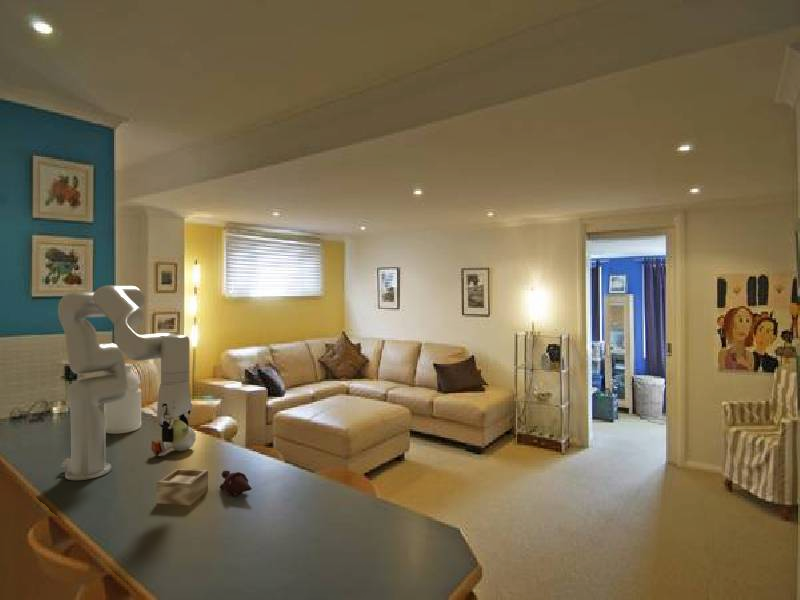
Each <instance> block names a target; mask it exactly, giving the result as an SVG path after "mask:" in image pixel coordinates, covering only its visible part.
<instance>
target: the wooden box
mask: <svg viewBox="0 0 800 600" xmlns="http://www.w3.org/2000/svg"><path fill="white" fill-rule="evenodd" d="M156 484H157V485H156V503H157V504H161V505H162V504H163V505H164V504H165V505H178V506H179V505H180V506H181V505H182V506H191V505H192V504H194V503H195V502H196V501H197V500H198V499H200V498H201V497H202V496H203V495H204V494H205V493H206V492H207V491H209V470H208V469H195V468H176V469H174V470H172V471H171V472H170V473H168V474H167V475H165V476H164V477H162V478H160V479H159V480H157V482H156Z"/></svg>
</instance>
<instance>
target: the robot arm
mask: <svg viewBox="0 0 800 600" xmlns="http://www.w3.org/2000/svg"><path fill="white" fill-rule="evenodd" d="M145 300H146V299H145V294H144V293H143V291H142V290H141V289H140V288H138V287H137V286H134V285H115V284H113V285H103V286H100V287H98V288H97V289H96V290H95V291H77V292H70V293H67V294H65V295H63V296H62V297H61V298H60V300H59V301H58V306H57V315H58V316H57V317H58V319H59V321H60V325H61V326H62V327H61V328H62V329H63V331H64V336H65V342H66V343H65V345H66V350H67V358H68V359H67V360H68V365H69V368H70V371H71V372H72V373H73V374H76V375H88V374H94V373H101V372H103V375H95V376H91V377H90V376H89V377H86V378H85V377H84V378H81V379H77V380H75V381H74V382H72V383H71V384H69V386H68V388H67V390H66V398H67V402H68V407H69V412H70V458H65V459H64V460H63V462H62V463H61V468H67V471H66V472H65V473H64V477H65V479H66V480H68V481H69V480H70V481H84V480H85V481H86V480H92V479H95V478H99V477H101V476H104V475H106V474H108V473H110V471H112V465H111V464H110V463H108V462H107V459H106V458H107V457H106V456H107V455H106V451H107V447H106V446H107V444H106V442H107V441H106V440H107V439H106V438H107V437H106V436H107V433H106V419H105V415H104V411H102V410H101V409H100V408H99V406H101V405H104V404H105V403H110V402H114V401H118V400H121V399H123V398H124V397H125V396H126V394H127V390H128V383H127V375H126V367H125V364H126V361H125V356H126V357H128V358H129V359H131V360H133V361H135V362H137V361H138V362H141V361H148V360H155V359H156V360H157V359H160V384H159V388H158V395H157V403H156V404H157V407H156V419H155V420H156V421H157V423H158V425H159V427H160V429H161V439H162V442H173V428H172V425H173V421H174V420H175V419H176V418H178V420H181V421H183V422H184V423H186V425H187V427H188V426H189V420H190V414H191V410H192V408H193V404H192V395H191V394H192V393H191V385H190V370H191V369H190V360H191V359H190V338H189V337H188V335H184V334H174V333H169V332H157V333H155V332H154V333H147V334H146V333H144V334H137V333H136V332H135V331H134V330H135V329H136V328H138V326H140V325H141V323H142V322H143V320H144V317H145V314H144V311H143V309H142V308H143V307H144V305H145ZM102 317H103V318H104V317H106V318H108V319H109V321H111V323H112V324H113V325H114V330H113V337H114V343H113V342H103V343H99V342H98V341H99V340H98V335H97V330H96V328H95V327H94V325H92V323H91V322H90V321H89V320H88V319H87V318H102ZM167 420H168V421H167Z"/></svg>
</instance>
